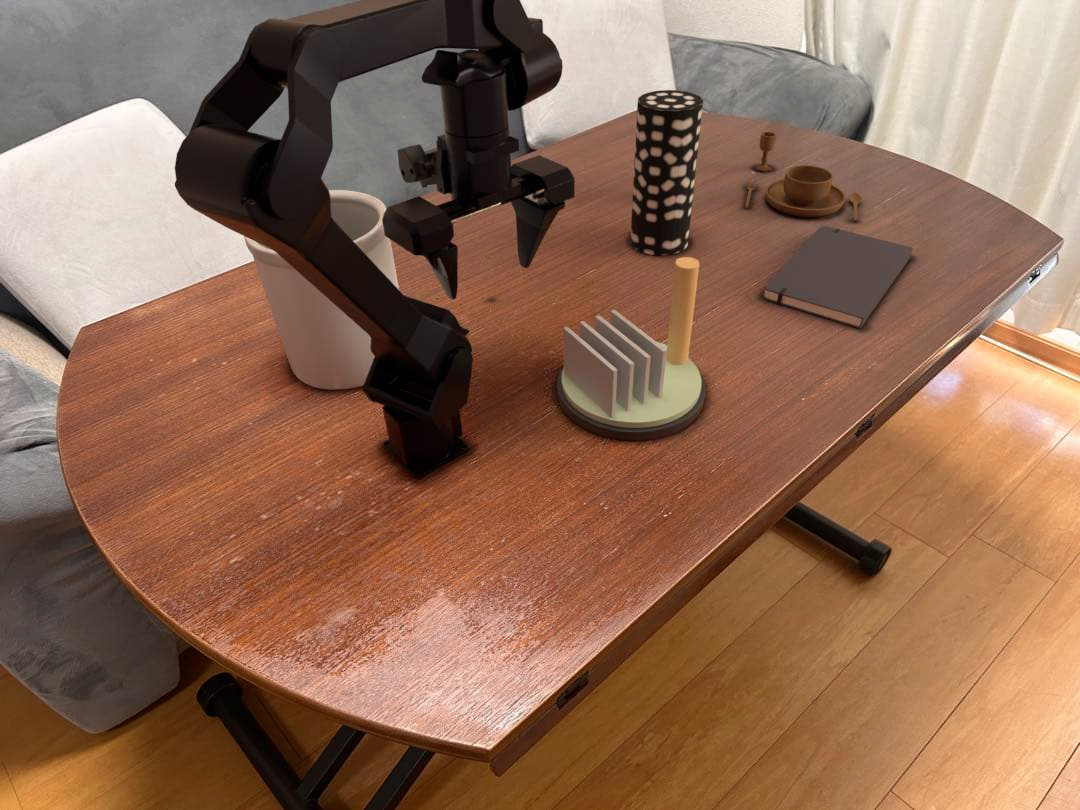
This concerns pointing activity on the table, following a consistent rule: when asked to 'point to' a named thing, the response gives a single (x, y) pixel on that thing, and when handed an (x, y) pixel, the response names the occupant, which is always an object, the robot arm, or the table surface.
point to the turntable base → (629, 433)
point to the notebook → (838, 275)
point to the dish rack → (635, 364)
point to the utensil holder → (326, 300)
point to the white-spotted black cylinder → (664, 170)
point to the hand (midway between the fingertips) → (489, 281)
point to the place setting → (801, 188)
